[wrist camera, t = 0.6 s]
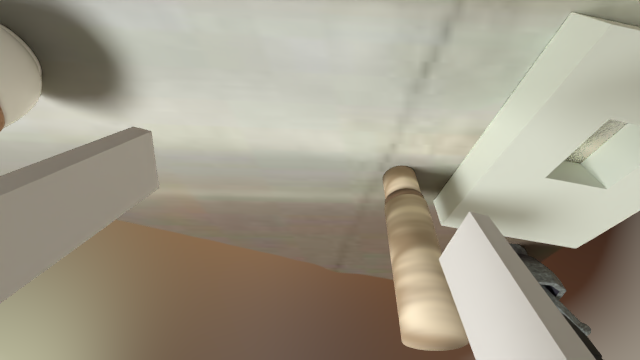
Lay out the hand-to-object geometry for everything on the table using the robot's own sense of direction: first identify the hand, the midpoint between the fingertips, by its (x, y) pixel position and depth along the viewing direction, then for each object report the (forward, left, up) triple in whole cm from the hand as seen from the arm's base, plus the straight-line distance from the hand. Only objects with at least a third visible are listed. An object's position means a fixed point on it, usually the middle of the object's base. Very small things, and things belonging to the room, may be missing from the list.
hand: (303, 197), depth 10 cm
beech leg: (+12, +11, -17) cm, 24 cm away
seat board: (+4, +26, -17) cm, 32 cm away
